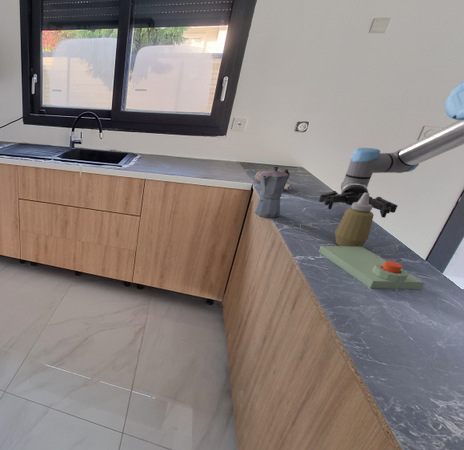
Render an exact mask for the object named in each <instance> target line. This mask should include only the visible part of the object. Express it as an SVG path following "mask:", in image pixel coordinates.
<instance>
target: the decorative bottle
mask: <svg viewBox="0 0 464 450" xmlns="http://www.w3.org/2000/svg"><path fill="white" fill-rule="evenodd" d="M265 171H266V170H263V169H262V170H261V169H260V170H259V171H257V172H256V174H255V176H254V179H255V180H256V181H257V182H259V183H260V178H261V173H263V172H265ZM294 190H295V189H294V187H293V185H292V184H289V181H288V180H287V182H286V184H285V187H284V190H283V191H294Z"/></svg>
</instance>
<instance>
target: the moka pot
mask: <svg viewBox="0 0 464 450" xmlns="http://www.w3.org/2000/svg"><path fill="white" fill-rule="evenodd" d="M278 169H279V167H278V166H274V167H273V170H265V172H263V173H261V178H260V182H259V192H260V194H259V198H258V201H257V204H256V207H255V210H254V214H255V215H257V216H259V217H263V218H269V219H270V218H271V219H273V218H277V217H280V216H281V197H282V194H283V193H284V191H285V190H284V187H285V184H286V182H287V181H288V180H289V177H290V175H291V174H290V172H289V169H288V168H286V169H284V170H280V171H279V170H278Z"/></svg>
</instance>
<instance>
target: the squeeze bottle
mask: <svg viewBox="0 0 464 450" xmlns="http://www.w3.org/2000/svg"><path fill="white" fill-rule="evenodd" d="M369 196H370V193H369V192H368V193H364V194H363V195H362V197H361V198H360V200H359V201H358V202H354V203H353V204H352V205H350V207H349V208H347V209H345V211H344V213H343V215H342V217H341V219H340V221H339V222H338V223H339V224H338V225H337V227H336V229H335V230H334V235H335V244H336V245H337V246H353V247H363V245H364V244H365V243H366V242H367V241H368V240H369V236H370V231H371V227H372V224H373V220H374V213H373V212H372V209H373V206H372V205H370V204H369Z"/></svg>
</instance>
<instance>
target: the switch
mask: <svg viewBox="0 0 464 450" xmlns="http://www.w3.org/2000/svg"><path fill="white" fill-rule="evenodd" d="M382 269H384V270H385V271H388V272H392V273H400V270H401V269H403V265H402V264H401V263H398V262H396V261H392V260H386V261H385V263H384V265H383V268H382Z"/></svg>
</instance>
